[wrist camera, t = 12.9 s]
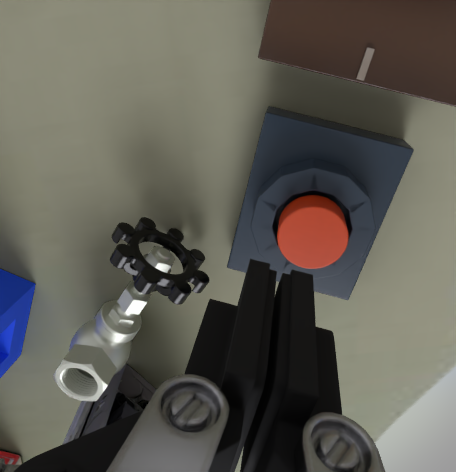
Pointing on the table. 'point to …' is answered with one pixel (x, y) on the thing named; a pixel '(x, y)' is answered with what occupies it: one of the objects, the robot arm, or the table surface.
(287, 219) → the red button
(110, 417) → the electrical switch
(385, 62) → the handle panel
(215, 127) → the table surface
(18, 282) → the bracket
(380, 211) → the button box
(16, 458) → the stack of blocks
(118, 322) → the valve
